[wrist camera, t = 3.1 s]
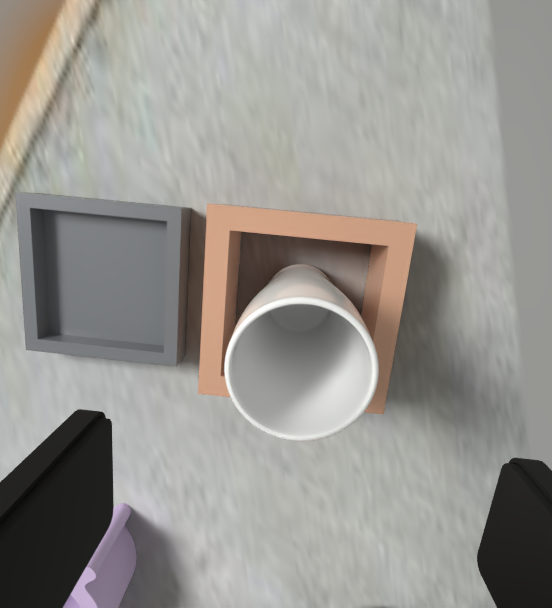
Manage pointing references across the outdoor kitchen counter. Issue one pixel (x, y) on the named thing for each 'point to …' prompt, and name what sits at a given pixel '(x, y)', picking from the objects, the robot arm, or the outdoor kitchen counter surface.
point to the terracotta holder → (235, 219)
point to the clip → (107, 567)
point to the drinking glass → (301, 358)
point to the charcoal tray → (104, 277)
